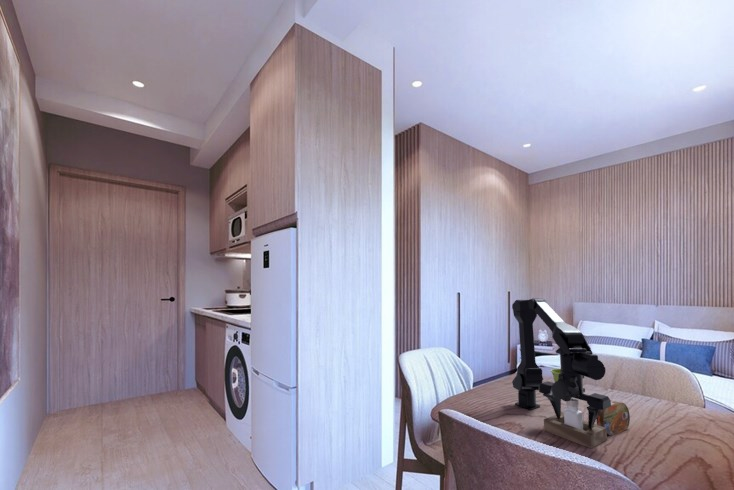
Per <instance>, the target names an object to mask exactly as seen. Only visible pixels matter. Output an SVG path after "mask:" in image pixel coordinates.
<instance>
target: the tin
mask: <svg viewBox="0 0 734 490" xmlns="http://www.w3.org/2000/svg"><path fill="white" fill-rule="evenodd" d="M630 417H631V416H630V411H629V407H628V406H627V404H626V403H624V402H622V401H621V402H619V401H615V400H614V401H611V407H609V408H606V409H604V410H601V411H600V413H599V414H598V416H597V418H596V421H595V422H596V425H599V426H602V427H605V428H606V430H607V435H609V436H614V435H617V434H619V433H622V432H625V431H626V430H628V428H629V426H630V421H631V419H630Z"/></svg>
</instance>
